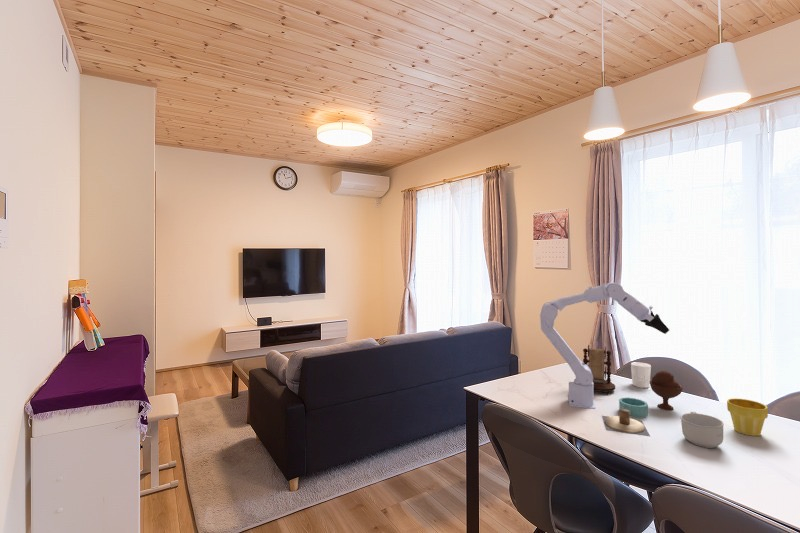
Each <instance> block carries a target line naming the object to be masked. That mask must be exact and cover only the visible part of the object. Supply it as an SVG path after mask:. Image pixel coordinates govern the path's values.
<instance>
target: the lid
mask: <svg viewBox="0 0 800 533" xmlns="http://www.w3.org/2000/svg"><path fill="white" fill-rule="evenodd" d="M618 411H619V412H618V414H619V415H611V416H609V417H607V418H606V419H605V423H606V424H607V425H608V426H609V427H611V428H613V429H616V430H619V431H623V432H629V433H628V434H630V433H639V432H643V431H644V430H645V427H646V426H645V424H644V423H643V424H644V425H643V424H642V423H641V422H639V421H637V419H635V418H632V417H631V416H630V411H629V410H627V409H619V408H618ZM623 432H622V433H623Z"/></svg>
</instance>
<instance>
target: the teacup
mask: <svg viewBox="0 0 800 533" xmlns="http://www.w3.org/2000/svg"><path fill="white" fill-rule="evenodd" d="M680 419H681V421H680V422H681V423H680V424H681V430H682V434H683V436H684V438H685V439H686V440H687V441H689V442H690V443H691V444H694V445H696V446H699V447H703V448H707V449H713V448H714V449H715V448H717V446H720V445H722V443H724V425H725V424H724V421H722V420H721V419H719V418H718V417H715V416H711V415H708V414H703V413H697V412H696V411H690V412H689V413H684V414H681V415H680Z"/></svg>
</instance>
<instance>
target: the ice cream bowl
mask: <svg viewBox="0 0 800 533" xmlns="http://www.w3.org/2000/svg"><path fill="white" fill-rule="evenodd" d="M674 379H675V377H674V375H673V374H672V372H671V373H670V372H669V371H667V370H660V371H658V372H656V373H655V374H654V375H653V376H652V378H651V380H650V384H649V387H650V388H651V390H652V392H654V393H655V395H657V396H659V397H660V398H662V403H658V404H657V405H656V406H657V408H658V409H660V410H662V411H671V412H672V411H675V408H674V406H672V405H671V404H669V399H673V398H676V397H678V396H680V395H681V393H682V391H683V390H684V389H683V386H682V384H680V383H679V382H678V381H676V380H674Z"/></svg>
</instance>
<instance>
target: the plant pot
mask: <svg viewBox="0 0 800 533" xmlns="http://www.w3.org/2000/svg"><path fill="white" fill-rule="evenodd" d="M726 408H727V411H728V412H729V415H730V417H731V421H732V424H733V425H732V426H733V429H734V430H735V431H736V432H738V433H740V434H742V435H747V436H752V437H757V436H760V435H761V434H762V431H763V430H762V429H763V426H764V424H765V420H766V419H768V416H769V407H768V406H767V405H766V404H764V403H762V402H759V401H754V400H751V399H747V398H745V399H744V398H728V399H727V400H726Z"/></svg>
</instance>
